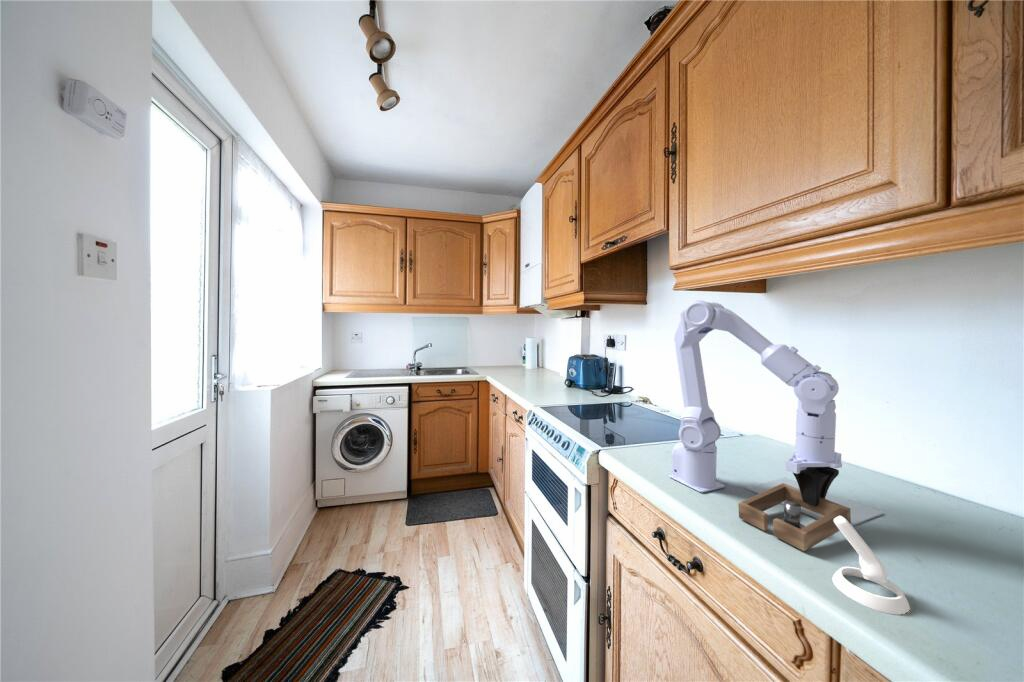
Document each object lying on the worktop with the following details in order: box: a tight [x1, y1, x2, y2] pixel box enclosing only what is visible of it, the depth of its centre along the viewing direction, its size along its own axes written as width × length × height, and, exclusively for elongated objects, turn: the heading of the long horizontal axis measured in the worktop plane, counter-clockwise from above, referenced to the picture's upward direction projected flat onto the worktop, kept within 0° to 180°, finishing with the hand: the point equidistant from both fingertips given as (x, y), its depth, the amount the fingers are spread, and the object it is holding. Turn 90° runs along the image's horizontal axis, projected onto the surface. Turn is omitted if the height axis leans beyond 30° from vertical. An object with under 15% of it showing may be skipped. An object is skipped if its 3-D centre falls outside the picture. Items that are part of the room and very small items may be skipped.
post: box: [779, 501, 806, 529], centre depth 65 cm, size 4×4×4 cm
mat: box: [745, 477, 885, 527], centre depth 75 cm, size 18×15×1 cm
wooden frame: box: [737, 483, 851, 552], centre depth 65 cm, size 11×14×3 cm
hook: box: [831, 516, 911, 616], centre depth 50 cm, size 8×12×7 cm
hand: (812, 503), depth 67 cm, fingers closed on wooden frame
